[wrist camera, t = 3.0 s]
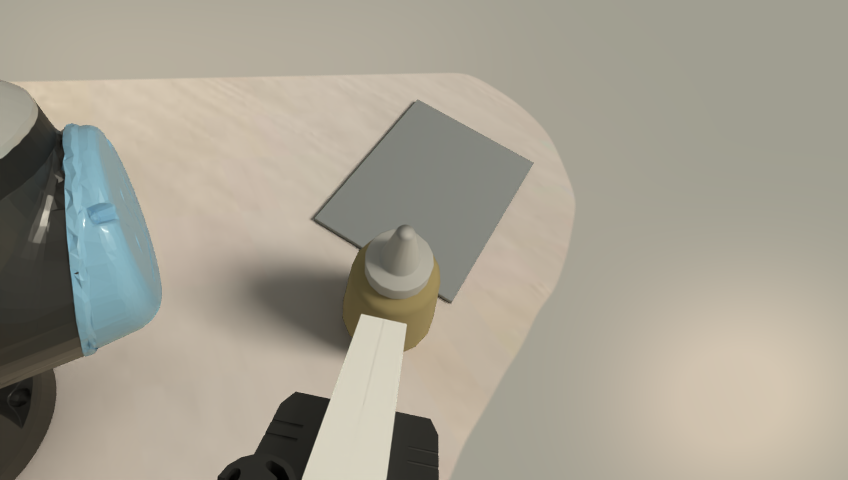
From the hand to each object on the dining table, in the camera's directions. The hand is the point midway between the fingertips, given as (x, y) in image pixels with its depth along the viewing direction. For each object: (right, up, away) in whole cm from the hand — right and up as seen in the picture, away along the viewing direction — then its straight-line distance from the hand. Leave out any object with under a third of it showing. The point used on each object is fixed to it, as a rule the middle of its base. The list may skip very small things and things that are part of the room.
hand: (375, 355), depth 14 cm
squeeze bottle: (-2, -4, +27) cm, 28 cm away
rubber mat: (+2, +9, +35) cm, 36 cm away
